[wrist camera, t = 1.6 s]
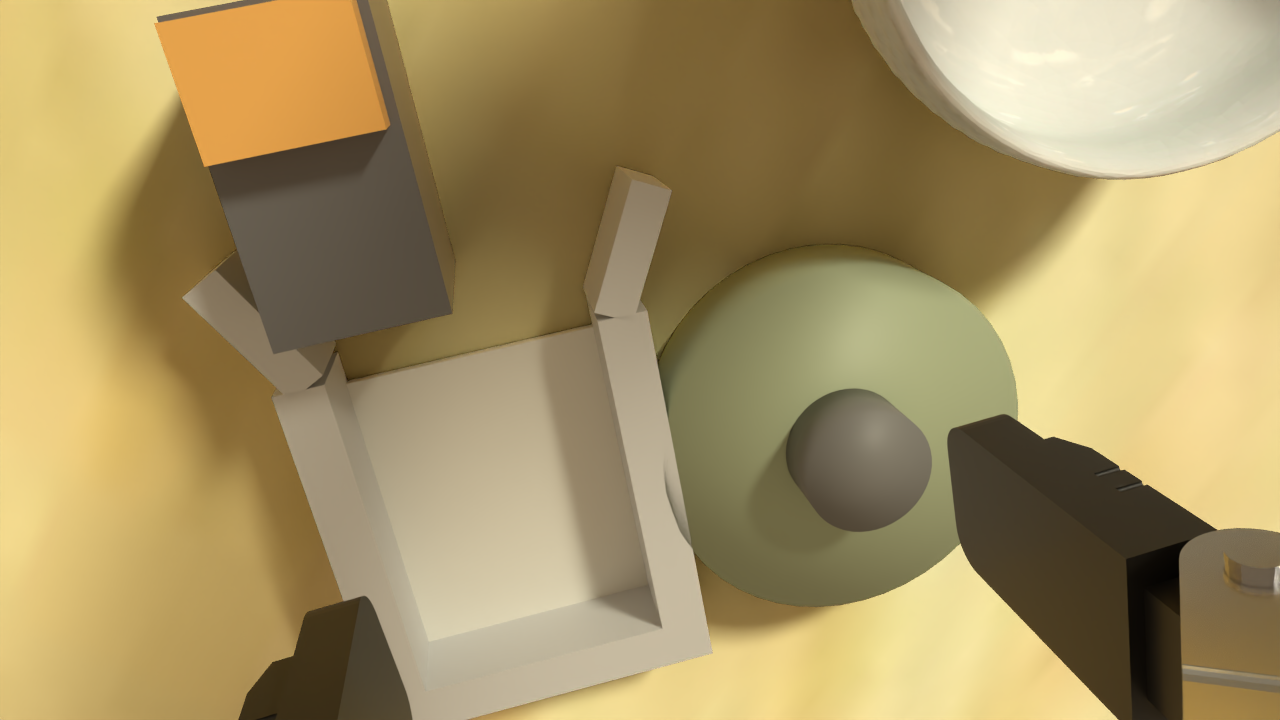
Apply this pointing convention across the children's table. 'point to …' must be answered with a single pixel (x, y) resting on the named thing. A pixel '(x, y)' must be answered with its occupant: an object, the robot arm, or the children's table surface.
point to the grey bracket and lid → (633, 461)
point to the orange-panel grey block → (315, 163)
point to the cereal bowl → (1091, 77)
